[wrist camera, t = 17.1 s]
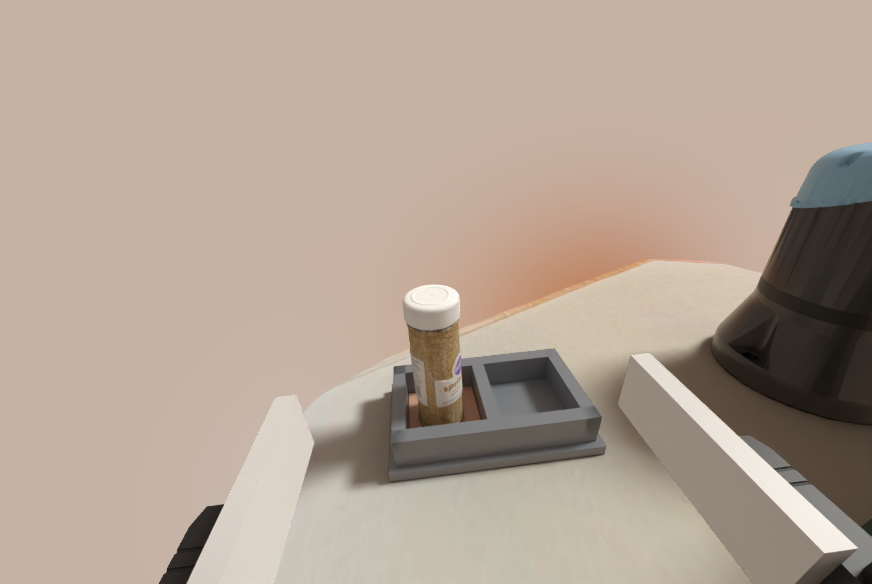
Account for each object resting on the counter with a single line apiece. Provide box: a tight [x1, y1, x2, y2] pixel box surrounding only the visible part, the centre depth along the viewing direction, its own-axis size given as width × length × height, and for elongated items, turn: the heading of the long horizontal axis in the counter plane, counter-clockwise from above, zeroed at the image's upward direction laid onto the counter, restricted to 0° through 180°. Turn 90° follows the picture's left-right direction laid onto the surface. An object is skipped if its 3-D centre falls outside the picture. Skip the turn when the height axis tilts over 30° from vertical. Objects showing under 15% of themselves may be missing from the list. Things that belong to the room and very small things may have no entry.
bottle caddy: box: [388, 348, 606, 482], centre depth 31 cm, size 19×11×4 cm, turn 95°
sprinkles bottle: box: [403, 285, 464, 427], centre depth 28 cm, size 5×5×14 cm
